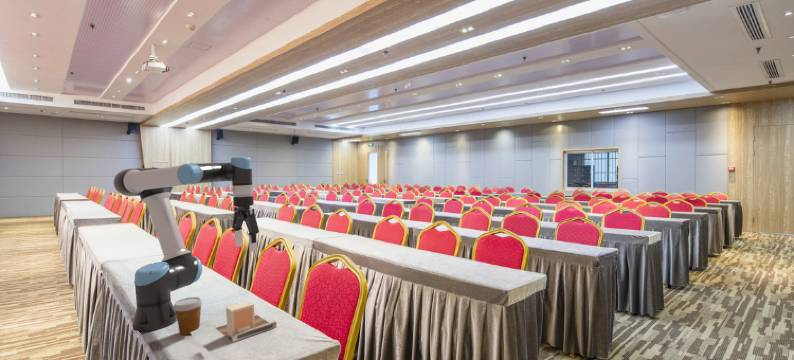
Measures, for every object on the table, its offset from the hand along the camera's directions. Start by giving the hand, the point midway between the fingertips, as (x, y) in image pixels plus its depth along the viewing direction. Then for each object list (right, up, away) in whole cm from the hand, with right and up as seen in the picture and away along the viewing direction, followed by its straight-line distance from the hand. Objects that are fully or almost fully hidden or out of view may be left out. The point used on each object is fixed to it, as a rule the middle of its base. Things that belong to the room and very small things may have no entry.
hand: (246, 248), depth 156 cm
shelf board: (+4, -29, -10) cm, 31 cm away
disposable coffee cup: (-18, -30, -9) cm, 36 cm away
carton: (+4, -28, -15) cm, 32 cm away
